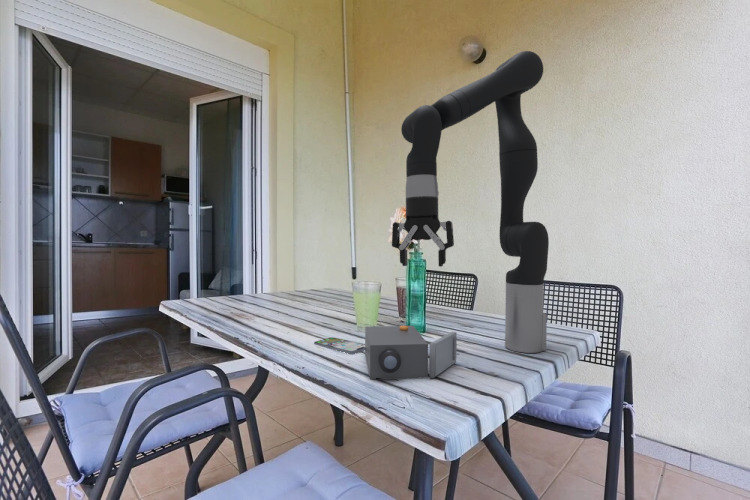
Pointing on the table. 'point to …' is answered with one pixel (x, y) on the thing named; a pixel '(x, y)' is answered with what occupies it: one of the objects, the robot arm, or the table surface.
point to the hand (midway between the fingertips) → (422, 266)
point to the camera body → (395, 352)
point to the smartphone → (341, 345)
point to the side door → (442, 354)
